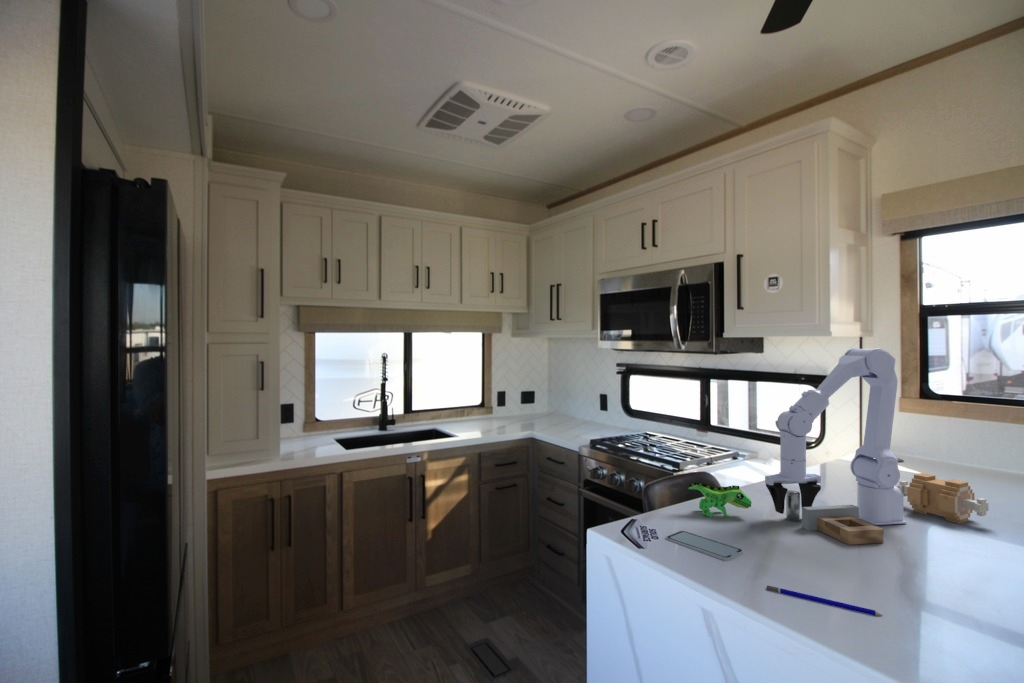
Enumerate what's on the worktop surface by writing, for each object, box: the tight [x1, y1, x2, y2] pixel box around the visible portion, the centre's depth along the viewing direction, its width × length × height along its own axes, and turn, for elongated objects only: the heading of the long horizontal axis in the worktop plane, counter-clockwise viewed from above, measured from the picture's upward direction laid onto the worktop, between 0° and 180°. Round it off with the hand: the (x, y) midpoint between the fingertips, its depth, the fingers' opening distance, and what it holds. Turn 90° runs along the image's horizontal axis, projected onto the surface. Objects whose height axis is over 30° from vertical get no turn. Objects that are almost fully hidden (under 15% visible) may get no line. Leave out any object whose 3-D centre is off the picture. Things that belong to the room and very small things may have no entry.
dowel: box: [785, 489, 801, 522], centre depth 125 cm, size 3×3×7 cm
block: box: [816, 516, 885, 546], centre depth 114 cm, size 9×9×3 cm
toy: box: [687, 482, 752, 518], centre depth 128 cm, size 6×16×10 cm, turn 78°
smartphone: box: [665, 530, 744, 562], centre depth 108 cm, size 7×1×15 cm
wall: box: [801, 504, 859, 531], centre depth 119 cm, size 14×2×5 cm, turn 99°
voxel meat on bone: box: [896, 472, 989, 524], centre depth 129 cm, size 10×18×10 cm, turn 24°
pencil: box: [766, 585, 884, 617], centre depth 84 cm, size 17×1×1 cm, turn 58°
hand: (792, 511), depth 125 cm, fingers open, 7 cm apart
